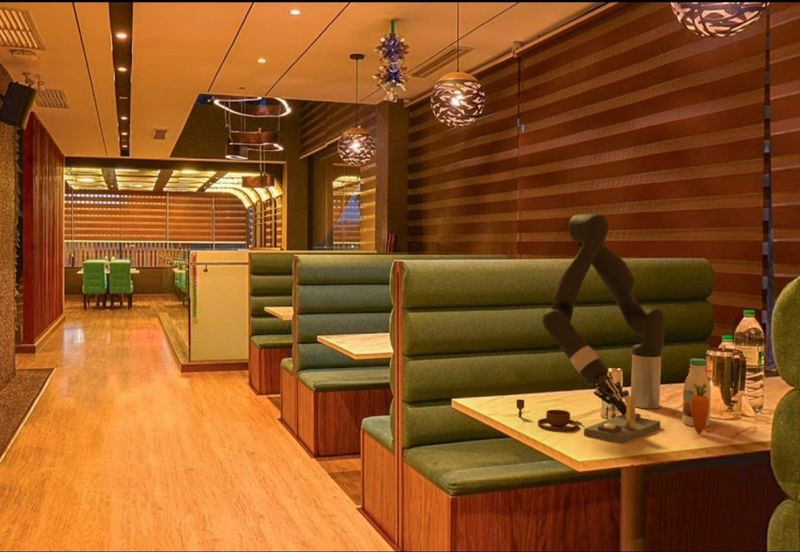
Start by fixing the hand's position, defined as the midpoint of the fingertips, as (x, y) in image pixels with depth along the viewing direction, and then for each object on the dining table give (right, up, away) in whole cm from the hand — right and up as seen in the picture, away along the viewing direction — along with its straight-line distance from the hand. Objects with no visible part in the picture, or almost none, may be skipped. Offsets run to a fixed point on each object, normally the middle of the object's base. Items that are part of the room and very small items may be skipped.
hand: (626, 413), depth 211 cm
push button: (-6, -4, -2) cm, 7 cm away
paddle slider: (+1, -4, -1) cm, 4 cm away
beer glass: (+2, -5, +22) cm, 23 cm away
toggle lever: (+6, -4, +10) cm, 12 cm away
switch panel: (0, -6, +4) cm, 7 cm away
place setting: (-19, -6, +13) cm, 24 cm away
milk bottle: (+25, -6, +14) cm, 29 cm away
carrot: (+21, -7, +2) cm, 23 cm away
